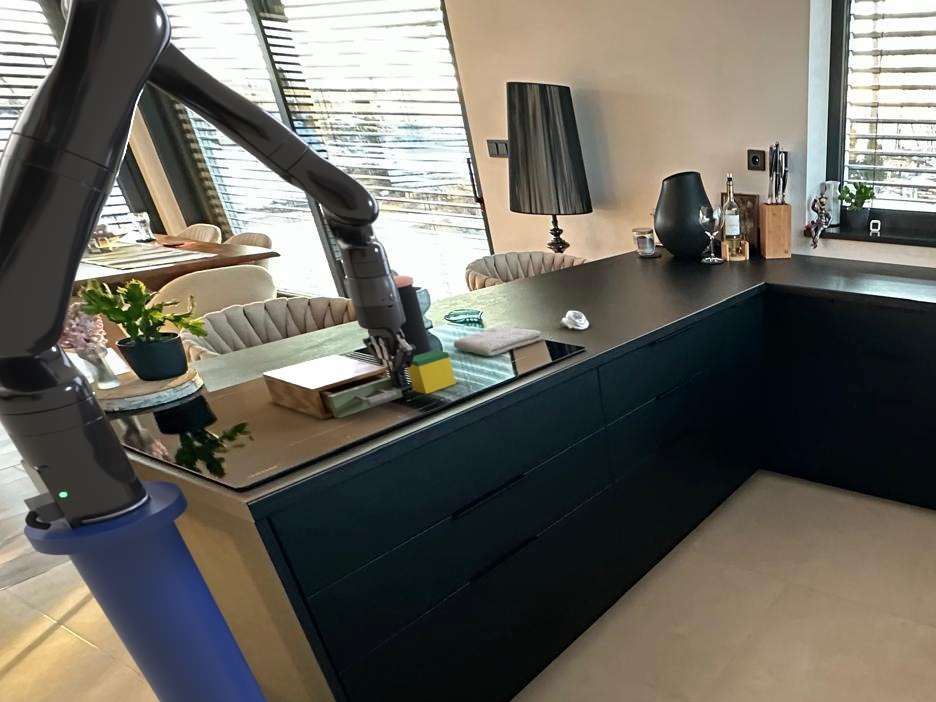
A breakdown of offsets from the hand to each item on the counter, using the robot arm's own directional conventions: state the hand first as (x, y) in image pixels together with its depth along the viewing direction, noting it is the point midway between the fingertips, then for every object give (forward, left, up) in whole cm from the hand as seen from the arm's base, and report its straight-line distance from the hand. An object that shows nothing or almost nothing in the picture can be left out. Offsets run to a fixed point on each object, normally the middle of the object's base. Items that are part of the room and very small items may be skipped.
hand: (401, 387), depth 122 cm
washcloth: (+36, +15, -4) cm, 39 cm away
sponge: (+9, +3, -3) cm, 10 cm away
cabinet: (-5, +14, -4) cm, 16 cm away
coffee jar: (+19, +27, -4) cm, 33 cm away
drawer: (-5, +7, -3) cm, 9 cm away
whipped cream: (+58, +11, -4) cm, 59 cm away
